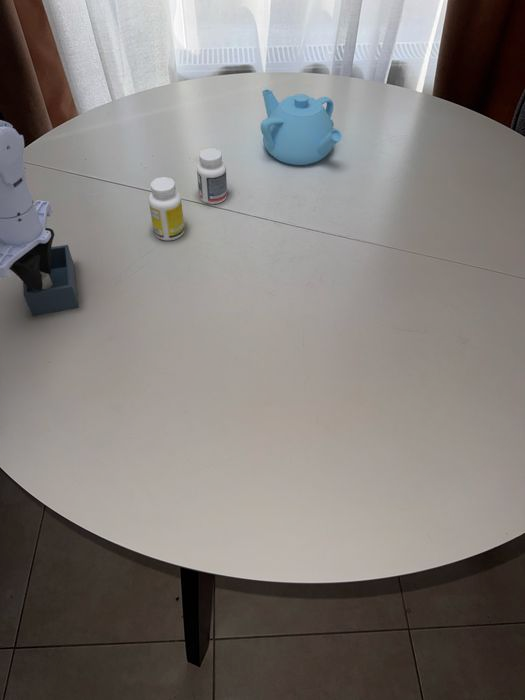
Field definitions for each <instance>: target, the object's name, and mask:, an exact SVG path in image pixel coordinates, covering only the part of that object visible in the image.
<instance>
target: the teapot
mask: <svg viewBox="0 0 525 700" xmlns="http://www.w3.org/2000/svg"><path fill="white" fill-rule="evenodd" d="M262 97H263V102H264V106H265V110H266V116H267V118H264V119H263V120H262V121H261V122H260V131H261V132H260V133H261V134H262V144H263V146H264V148H265V149H266V151H267V152H268V153H269V154H270V155H271V156H272V157H273V158H274V159H276V160H277V161H278V162H281V163H283V164H287V165H292V166H307V165H313V164H315V163H318V162H319V161H321V160H323V159H324V158H325V157H326V156H328V155H329V154H330V152H331V151H332V149H333V147H334V146H335V145H336V144H337V143H338V142H340V141H341V140H342V137H343V136H342V132H341V131H340V130H339V129H336V128H335V129H334V125H335V124H334V120H332V115H333V112H334V101H333V100H332V99H331V98H330V97H328V96H321V97H319V98H317V99H316V98H314V97H311V96H308V95H307V94H304V93H297V94H295V95H292V96H288V97H287V96H286V97H285V98H284V99H282V100H281V101H280V102H279V100H277V98H276V95H275V94H274V92H273V90H271V89H268V88H266V89H264V90H262ZM324 104H326V107H324Z"/></svg>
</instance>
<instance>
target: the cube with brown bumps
mask: <svg viewBox="0 0 525 700" xmlns="http://www.w3.org/2000/svg"><path fill="white" fill-rule="evenodd" d="M40 275H41V278H42V283H43V287H42V289H48V288H50V287H51V286H52V285H53V284H52V281H51V279H50V276H49V274H47V273H43V272H40ZM42 289H41V290H42ZM32 290H34V291H37V290H36V289H32Z"/></svg>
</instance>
